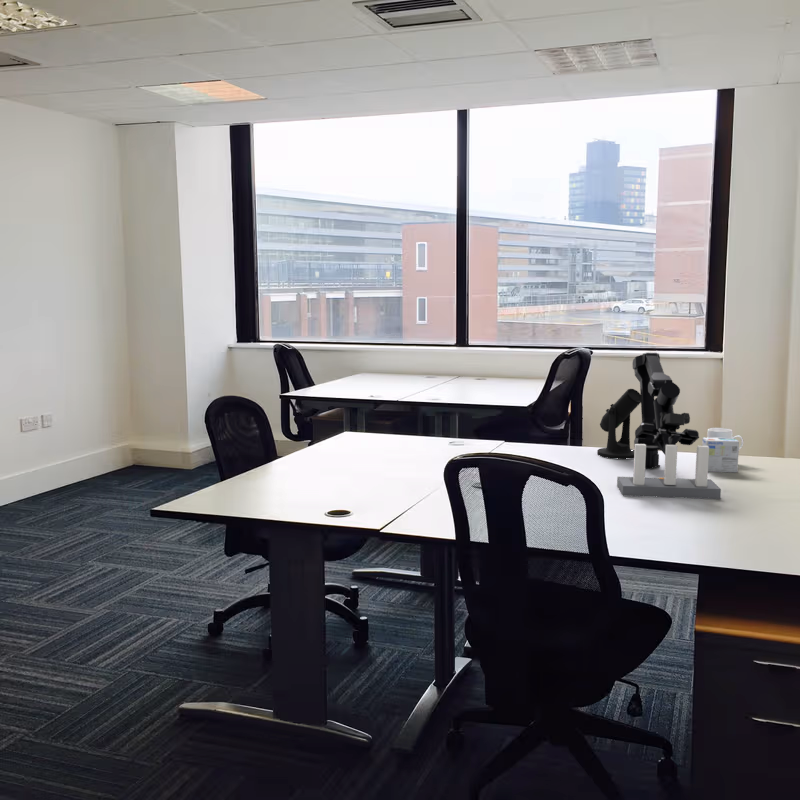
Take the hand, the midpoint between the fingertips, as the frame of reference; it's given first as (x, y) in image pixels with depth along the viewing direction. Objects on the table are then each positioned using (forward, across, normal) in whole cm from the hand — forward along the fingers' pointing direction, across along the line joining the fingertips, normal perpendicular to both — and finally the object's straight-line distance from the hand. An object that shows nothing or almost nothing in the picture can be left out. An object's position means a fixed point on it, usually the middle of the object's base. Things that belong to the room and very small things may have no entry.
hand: (669, 458), depth 257 cm
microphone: (-23, +5, +45) cm, 51 cm away
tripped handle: (+10, -2, -2) cm, 10 cm away
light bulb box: (-9, +29, +21) cm, 37 cm away
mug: (-18, +37, +30) cm, 51 cm away
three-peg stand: (+10, -1, +2) cm, 11 cm away
